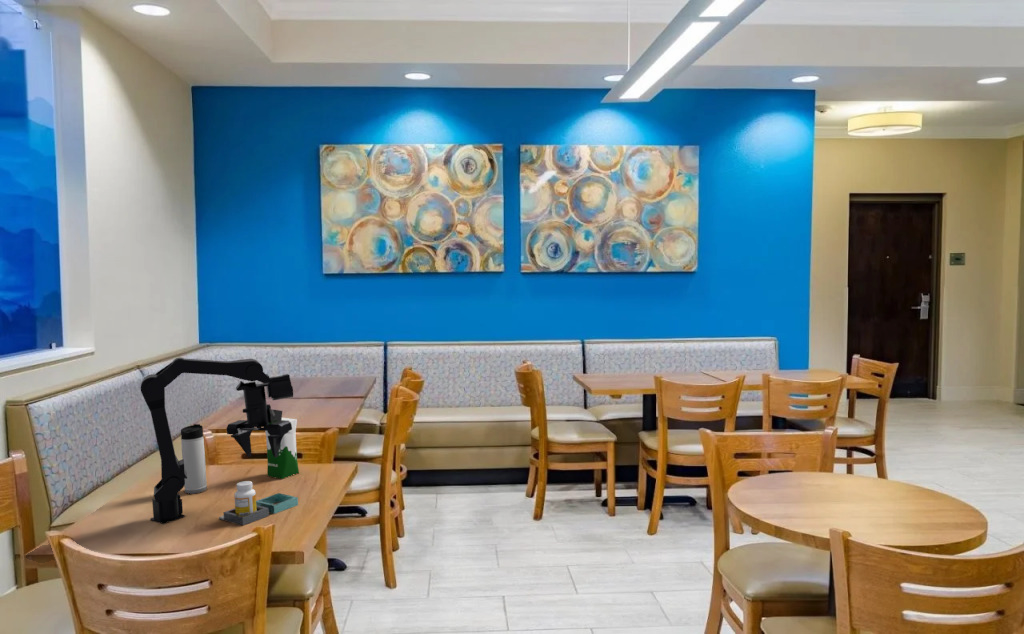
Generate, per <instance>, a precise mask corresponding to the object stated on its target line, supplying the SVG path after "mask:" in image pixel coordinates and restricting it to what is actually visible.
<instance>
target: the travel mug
mask: <svg viewBox="0 0 1024 634" xmlns="http://www.w3.org/2000/svg"><path fill="white" fill-rule="evenodd" d="M203 429H204V428H203V425H201V424H200V423H197V424H196V423H195V424H192V425H188V426H185V427H183V428H181V429H180V436H181V437H180V440H181V441H180V442H181V458H182V459H184V469H185V470H186V472H187V479H185V485H184V487H183V488H184V492H185V494H187V493H188V495H194V494H195V493H196V494H201V493H203V491H204V492H206V491H207V489H208V486H207V483H208V482H207V470H206V469H207V467H206V454H205V440H204V430H203ZM182 459H181V460H182ZM200 492H201V493H200ZM189 493H190V494H189Z"/></svg>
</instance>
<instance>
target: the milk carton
mask: <svg viewBox="0 0 1024 634" xmlns="http://www.w3.org/2000/svg"><path fill="white" fill-rule="evenodd" d="M282 420H289V421H290V422H291V425H292V430H290V431H288V433H286V434H285V435H284V436H283V438H282V441H281V444H280V448H279V452H278V456H277V457H274V456H273V453H272V450H271V447H270V443H269V440H268V436H269V435H270V434H269V433H268V431H264V432H265V437H266V438H265V439H266V456H267V457H266V458H267V470H266V471H267V477H269V476H271V477H270V478H274V477H276V479H279V478H281V479H280V480H283V478H284V479H286V478H285V477H287V478H289V477H288V476H290V477H292V476H294V475H293V474H295V475H297V474H296V473H298V474H300V471H299V470H300V469H299V464H298V462H299V461H298V454H297V436H296V435H297V434H296V431H297V424H298V419H297V418H288V417H282ZM274 422H276V421H274ZM274 422H270V423H269V424H271V423H274ZM291 475H292V476H291Z"/></svg>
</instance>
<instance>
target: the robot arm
mask: <svg viewBox="0 0 1024 634" xmlns="http://www.w3.org/2000/svg"><path fill="white" fill-rule="evenodd" d="M182 374H194V375H195V374H196V375H197V374H198V375H211V376H212V375H214V376H215V375H216V376H227V377H232V378H236V379H239V380H240V381H239V382H238V385H236V386H235V390H236V391H237V392H239V391H243V397H244V398H243V400H244V406H245V407H244V408H243V409H242V413H244V414H246V419H245V420H244V419H239V420H236V421H233V422H229V424H228V423H227V426H226V435H230V437H231V438H233V439H234V440H235V441H236V443H238V445H239V446H240V448H241V449H242V451H243V453H245V454H246V456H247V457H248V458H249V457H252V445H251V444H252V443H251V435H252V432H253V431H254V432H255V431H259V432H260V431H262V432H263V431H264V432H265V431H268V433H269V434H270V435H269V436H268V440H269V443H270V447H271V450H272V453H273V456H274V457H277V456H278V452H279V448H280V444H281V441H282V438H283V436H284V435H285V434H286V433H288V431H290V430H292V425H291V422H290V421H289V420H282V418H283V410H279V409H272V408H271V407H272V405H270V404H269V403H268V404H267V398H270V399H272V401H277V400H285V399H290V398H294V387H293V386H292V385H293V384H292V381H291V376H290V374H288V373H286V374H282V375H277V376H270V375H269V374H267V373H265V372H264V368H263V366H262V364H261V363H260V362H259V361H258V360H257V359H255V358H244V359H236V360H228V361H227V360H211V359H195V358H193V359H192V358H184V357H180V356H179V357H176V358H175V359H173V360H172V361H171V362H170V363H168V364H167V365H166V366H164V367H163V368H161V369H159V371H157V372H156V373H154V374H153V373H151V374H148V375H145V377H144V378H143V379H142V381H141V383H140V392H141V395H142V397H143V399H144V402H145V403H146V405H147V407H148V410H149V412H150V415H151V420H152V424H153V429H154V434H155V439H156V442H157V446H158V448H157V449H158V451H159V456H160V461H161V462H160V463H161V464H160V465H161V467H160V468H161V470H160V471H161V477H160V480H159V481H158V482H157V483H156V484H155V486H154V487H153V498H152V499H151V502H152V516H153V517H151V518H150V520H149V521H151V522H154V523H158V524H162V525H166V524H169V523H171V522H174V521H176V520H177V521H178V520H179V519H183V518H186V515H185V514H183V512H184V510H183V499H182V498H181V493H179V492H180V491H181V490H182V489H183V488H185V487H184V485H185V479H187V472H186V470H185V469H184V459H180V460H179V459H178V457H177V455H176V452H175V447H174V441H173V438H172V437H173V436H172V433H171V429H170V424H169V419H168V414H167V411H166V392H165V391H166V390H165V388H167V386H169V385H170V384H171V383H172V382H173V381H174V380H176V379H177V378H178V377H179V376H180V375H182ZM242 380H244V381H248V382H244V381H242ZM256 382H260V383H256ZM265 387H266V389H265ZM266 394H267V396H266ZM274 421H276V422H274ZM270 422H274V423H271V424H269V423H270Z"/></svg>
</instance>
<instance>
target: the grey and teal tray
mask: <svg viewBox="0 0 1024 634" xmlns="http://www.w3.org/2000/svg"><path fill="white" fill-rule="evenodd" d="M298 498H299V497H297V496H292V495H289V494H285V493H280V492H277V493H275V494H272V495H269V496H267V497H263V498H261V499H256V508H257V511H256V512H253V513H250V514H247V515H245V516H241V515H238V514H236V512H235V507H234V508H231V509H229V510H226V511H224V512H223V515H220V516H219V517H218V519H219V520H220V521H221V520H222V521H226V522H228V523H233V524H235V525H240V526H245V525H248V524H251V523H253V522H256V521H259V520H262V519H264V518H267V517H270V514H275V515H276V514H278V513H280V512H282V511H286V510H288V509H291V508H293V507H296V506H299V499H298Z"/></svg>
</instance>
